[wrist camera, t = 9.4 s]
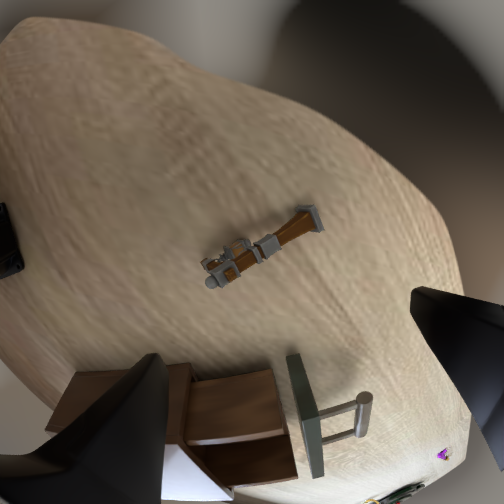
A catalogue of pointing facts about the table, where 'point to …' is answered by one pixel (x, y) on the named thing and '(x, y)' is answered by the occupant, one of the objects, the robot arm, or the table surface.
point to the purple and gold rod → (441, 455)
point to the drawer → (261, 426)
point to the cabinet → (176, 451)
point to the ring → (370, 500)
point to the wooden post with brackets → (259, 248)
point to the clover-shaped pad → (402, 495)
